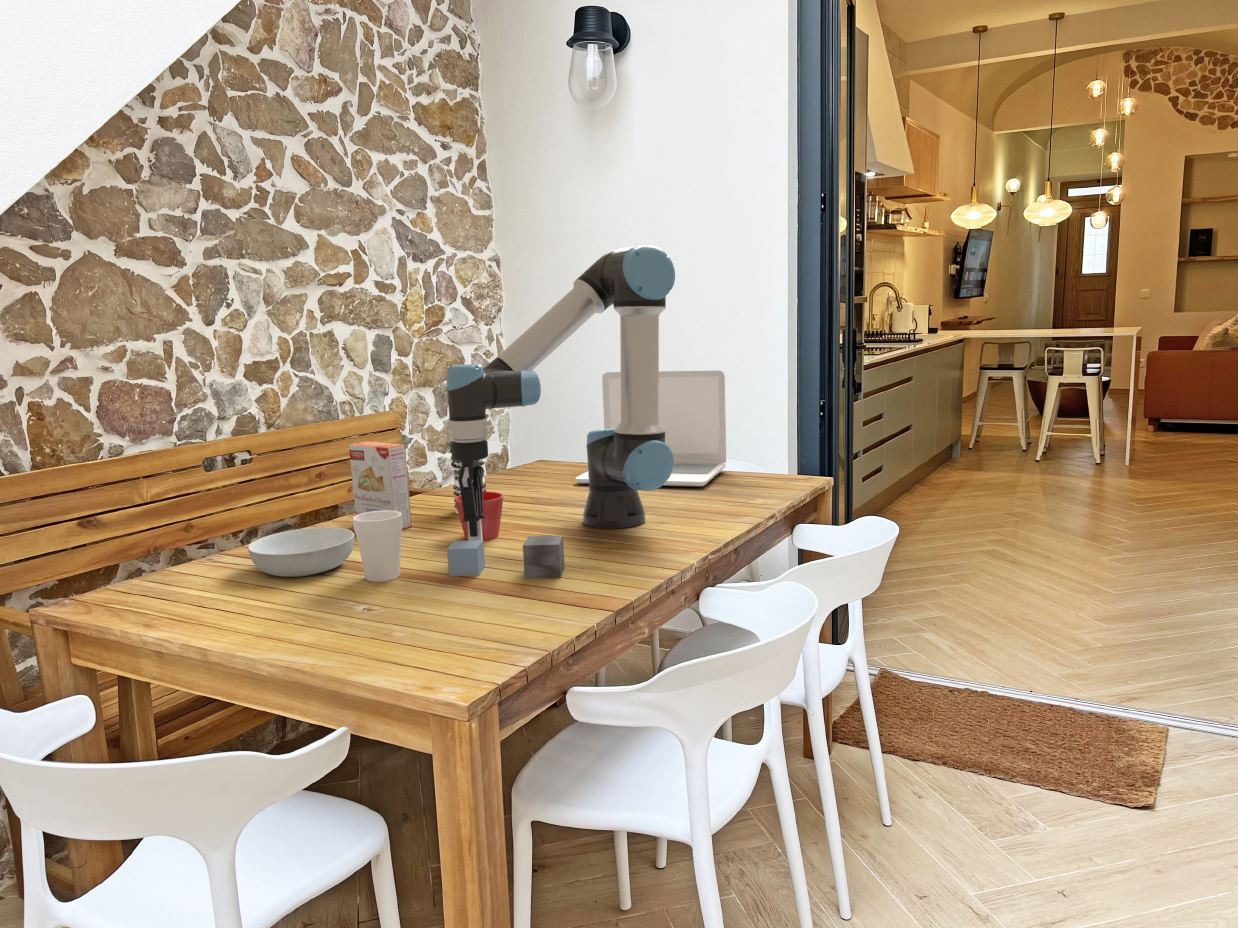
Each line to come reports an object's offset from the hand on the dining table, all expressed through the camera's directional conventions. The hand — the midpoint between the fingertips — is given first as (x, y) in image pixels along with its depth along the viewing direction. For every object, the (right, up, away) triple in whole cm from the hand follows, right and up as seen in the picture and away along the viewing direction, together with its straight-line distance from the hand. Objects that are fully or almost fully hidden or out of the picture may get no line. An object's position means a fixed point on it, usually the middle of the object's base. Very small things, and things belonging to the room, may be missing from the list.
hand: (476, 550), depth 194 cm
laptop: (+40, +14, +87) cm, 97 cm away
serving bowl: (-35, -4, -3) cm, 35 cm away
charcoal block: (+15, -4, -12) cm, 20 cm away
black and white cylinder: (-9, +6, +47) cm, 48 cm away
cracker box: (-28, +2, +33) cm, 43 cm away
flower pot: (-2, +1, +19) cm, 19 cm away
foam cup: (-17, -5, -11) cm, 21 cm away
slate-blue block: (0, -4, -9) cm, 10 cm away
